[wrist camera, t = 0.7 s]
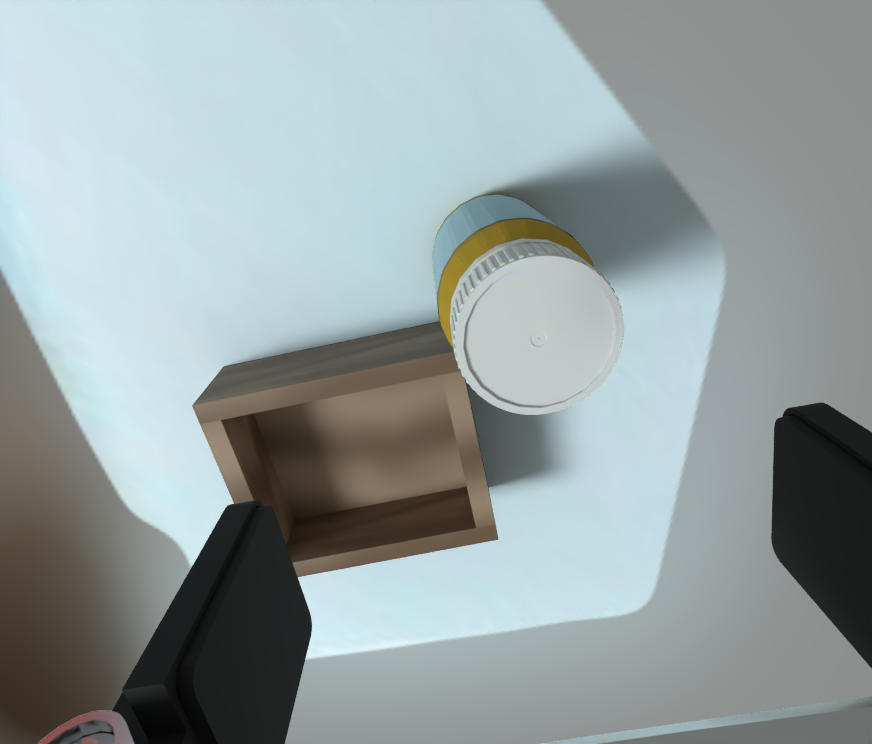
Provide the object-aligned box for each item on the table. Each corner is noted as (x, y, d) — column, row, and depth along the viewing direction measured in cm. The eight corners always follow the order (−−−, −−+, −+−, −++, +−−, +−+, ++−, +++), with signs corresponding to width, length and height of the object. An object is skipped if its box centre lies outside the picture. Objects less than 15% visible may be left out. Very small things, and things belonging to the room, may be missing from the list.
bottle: (563, 207, 33) (666, 265, 19) (530, 319, 36) (599, 440, 22) (446, 180, 32) (468, 221, 19) (421, 297, 35) (423, 408, 21)
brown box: (223, 367, 37) (192, 405, 32) (452, 318, 36) (458, 350, 31) (286, 527, 42) (268, 582, 37) (488, 488, 41) (498, 539, 36)
